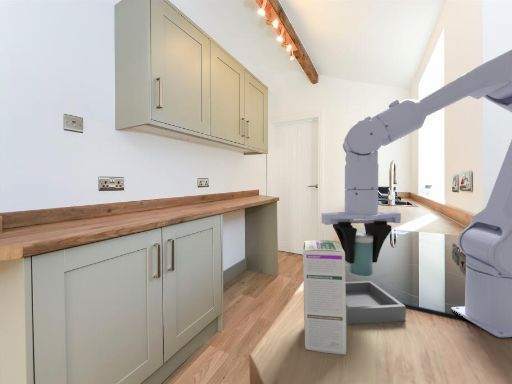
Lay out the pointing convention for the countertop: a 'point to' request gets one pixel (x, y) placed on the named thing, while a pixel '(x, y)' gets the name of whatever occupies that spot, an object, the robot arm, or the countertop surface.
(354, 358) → the countertop surface
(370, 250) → the shaker
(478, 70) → the robot arm
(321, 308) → the syrup box
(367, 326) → the countertop surface
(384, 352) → the countertop surface
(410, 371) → the countertop surface
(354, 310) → the tray
